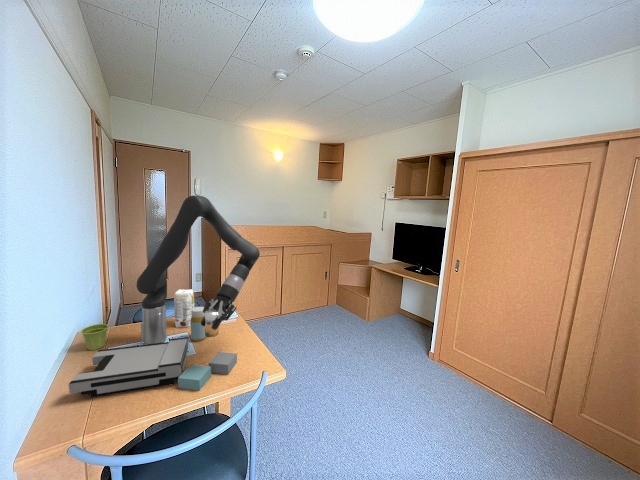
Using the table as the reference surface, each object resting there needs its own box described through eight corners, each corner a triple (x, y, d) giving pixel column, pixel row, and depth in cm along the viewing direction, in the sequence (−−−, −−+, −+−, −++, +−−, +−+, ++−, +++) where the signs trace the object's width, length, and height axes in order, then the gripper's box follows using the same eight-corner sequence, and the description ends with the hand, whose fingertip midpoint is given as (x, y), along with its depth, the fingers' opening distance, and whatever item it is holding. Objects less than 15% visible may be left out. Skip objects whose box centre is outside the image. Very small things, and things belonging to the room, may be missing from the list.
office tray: (99, 366, 105) (98, 347, 104) (188, 354, 116) (188, 336, 115) (70, 403, 86) (68, 380, 85) (180, 385, 96) (179, 364, 95)
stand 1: (178, 388, 94) (178, 377, 94) (191, 374, 102) (191, 364, 102) (199, 390, 94) (199, 380, 93) (211, 376, 102) (211, 366, 101)
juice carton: (191, 327, 139) (190, 293, 137) (173, 328, 138) (172, 293, 136) (195, 321, 147) (194, 288, 144) (179, 322, 145) (178, 288, 143)
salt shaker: (202, 336, 99) (202, 313, 98) (209, 330, 104) (208, 308, 103) (215, 337, 99) (214, 315, 98) (221, 331, 104) (221, 309, 103)
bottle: (209, 337, 130) (209, 308, 128) (196, 343, 124) (196, 313, 122) (201, 333, 134) (200, 305, 132) (188, 339, 128) (187, 309, 126)
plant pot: (111, 339, 125) (109, 322, 124) (108, 349, 117) (107, 330, 116) (84, 344, 120) (83, 326, 119) (80, 354, 112) (78, 335, 111)
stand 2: (208, 372, 104) (208, 362, 103) (218, 360, 112) (218, 351, 111) (228, 374, 103) (228, 364, 102) (236, 362, 111) (236, 353, 110)
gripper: (213, 280, 109) (188, 318, 100) (240, 286, 103) (216, 328, 94) (222, 289, 114) (200, 326, 105) (249, 295, 108) (227, 335, 99)
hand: (208, 327), depth 100 cm, fingers closed on salt shaker, 5 cm apart
